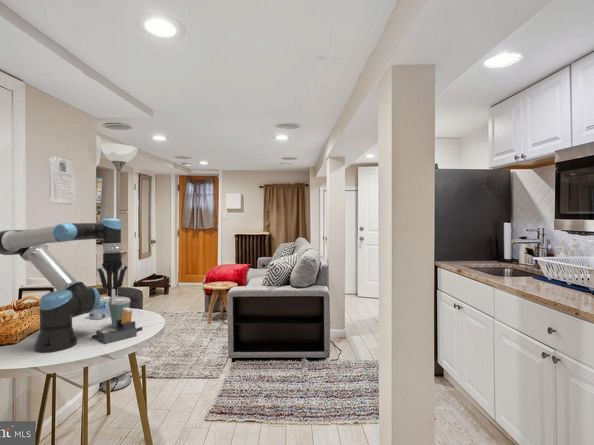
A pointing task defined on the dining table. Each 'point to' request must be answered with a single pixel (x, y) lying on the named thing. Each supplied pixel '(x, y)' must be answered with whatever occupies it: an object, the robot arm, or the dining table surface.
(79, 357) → the dining table surface
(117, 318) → the disposable coffee cup
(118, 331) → the labelled grey housing
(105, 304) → the light bulb box
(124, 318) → the lever
